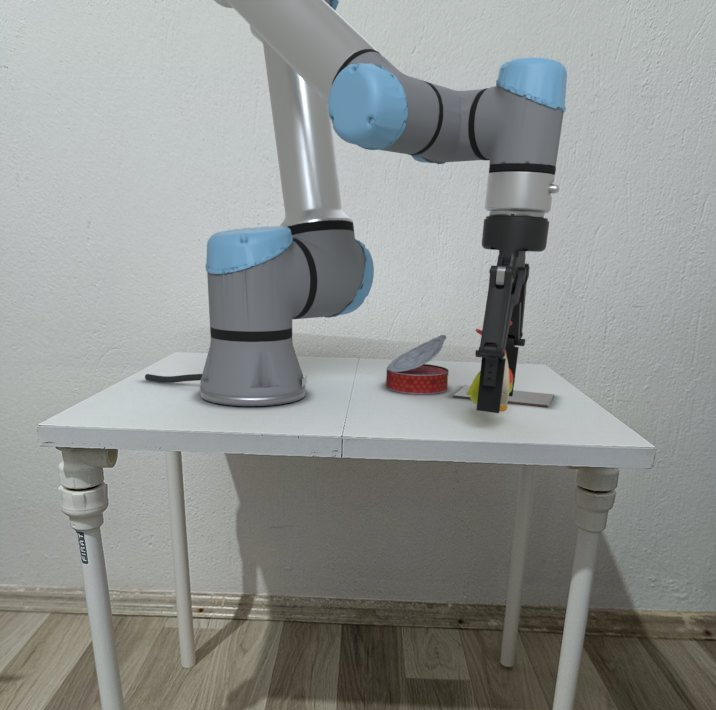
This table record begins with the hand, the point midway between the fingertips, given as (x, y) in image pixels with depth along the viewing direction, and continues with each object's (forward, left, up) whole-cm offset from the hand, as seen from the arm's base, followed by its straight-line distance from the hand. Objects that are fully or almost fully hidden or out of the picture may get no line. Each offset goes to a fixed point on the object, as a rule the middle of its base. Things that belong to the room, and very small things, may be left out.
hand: (495, 402), depth 85 cm
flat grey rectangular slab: (-2, +17, -3) cm, 17 cm away
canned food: (-16, +17, -3) cm, 23 cm away
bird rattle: (0, 0, -1) cm, 1 cm away
